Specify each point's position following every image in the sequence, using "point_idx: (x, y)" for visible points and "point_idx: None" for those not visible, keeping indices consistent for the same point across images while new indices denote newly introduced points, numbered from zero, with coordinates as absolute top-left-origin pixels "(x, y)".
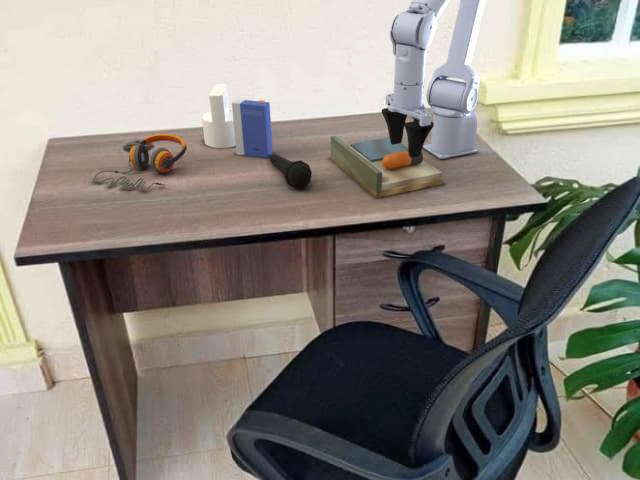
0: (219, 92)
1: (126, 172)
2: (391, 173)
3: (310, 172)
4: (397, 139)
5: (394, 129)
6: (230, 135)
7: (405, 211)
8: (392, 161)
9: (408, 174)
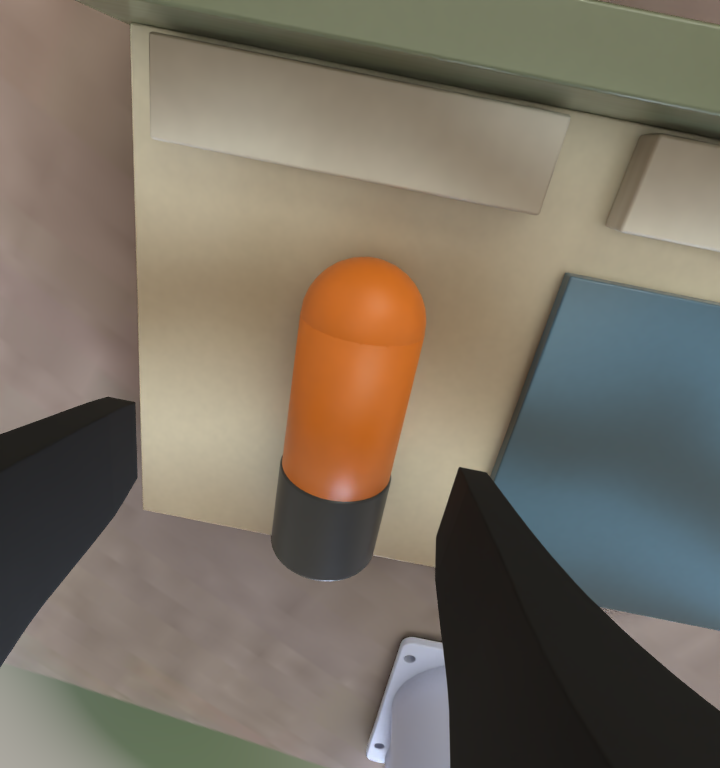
0: None
1: None
2: (285, 259)
3: None
4: (447, 536)
5: (483, 603)
6: None
7: None
8: (303, 314)
9: (210, 346)
